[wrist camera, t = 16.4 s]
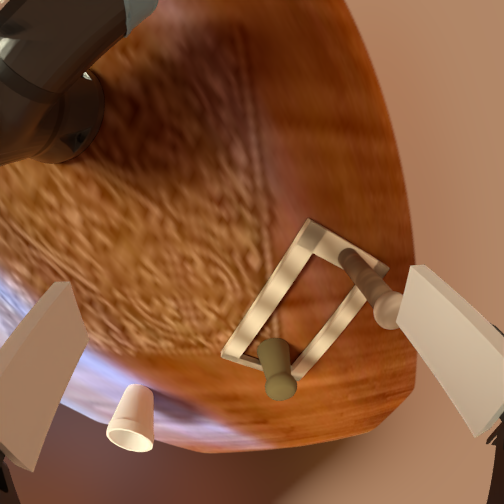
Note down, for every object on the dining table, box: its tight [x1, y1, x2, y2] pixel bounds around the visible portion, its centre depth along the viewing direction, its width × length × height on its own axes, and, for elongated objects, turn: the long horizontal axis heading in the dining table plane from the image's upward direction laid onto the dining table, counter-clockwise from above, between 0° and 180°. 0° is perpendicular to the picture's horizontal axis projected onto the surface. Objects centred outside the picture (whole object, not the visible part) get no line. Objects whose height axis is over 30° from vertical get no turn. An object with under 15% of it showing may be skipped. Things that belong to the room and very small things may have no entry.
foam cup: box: [106, 384, 154, 452], centre depth 49 cm, size 10×9×13 cm
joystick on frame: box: [221, 218, 403, 381], centre depth 41 cm, size 28×17×18 cm, turn 151°
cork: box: [257, 338, 297, 401], centre depth 47 cm, size 6×6×11 cm
